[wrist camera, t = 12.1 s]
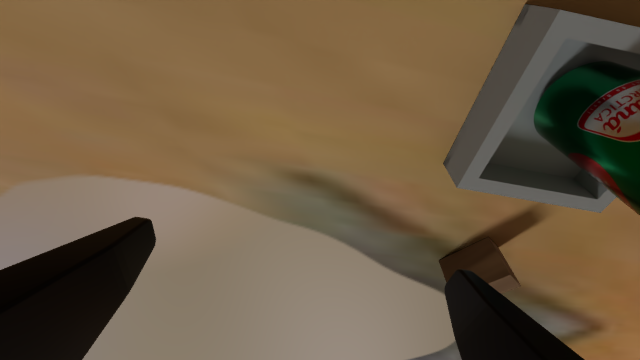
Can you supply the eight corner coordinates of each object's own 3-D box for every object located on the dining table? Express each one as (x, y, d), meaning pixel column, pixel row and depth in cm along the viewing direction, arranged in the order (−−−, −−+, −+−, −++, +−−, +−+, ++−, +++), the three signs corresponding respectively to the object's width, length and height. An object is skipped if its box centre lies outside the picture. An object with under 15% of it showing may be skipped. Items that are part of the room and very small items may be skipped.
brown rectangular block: (438, 260, 28) (452, 298, 25) (488, 236, 26) (510, 274, 23) (449, 270, 29) (463, 308, 26) (498, 248, 27) (521, 286, 23)
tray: (443, 163, 22) (456, 187, 19) (525, 3, 15) (560, 9, 13) (571, 186, 22) (600, 212, 20) (697, 42, 16) (761, 54, 14)
